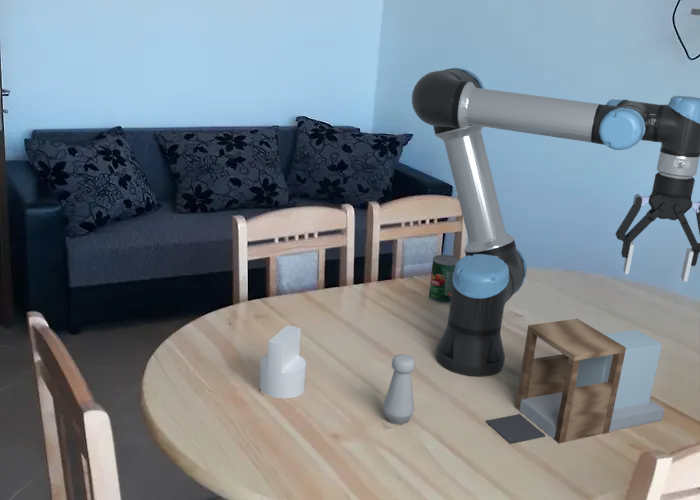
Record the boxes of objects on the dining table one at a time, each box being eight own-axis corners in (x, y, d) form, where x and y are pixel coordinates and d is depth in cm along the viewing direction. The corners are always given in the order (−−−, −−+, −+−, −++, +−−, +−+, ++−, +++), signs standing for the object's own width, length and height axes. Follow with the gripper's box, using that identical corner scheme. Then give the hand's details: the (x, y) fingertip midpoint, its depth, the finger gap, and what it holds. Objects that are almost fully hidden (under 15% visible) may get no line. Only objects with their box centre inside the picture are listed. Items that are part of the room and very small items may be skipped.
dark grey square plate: (519, 415, 153) (519, 413, 152) (545, 436, 146) (545, 435, 146) (485, 421, 149) (485, 420, 149) (510, 443, 142) (510, 442, 142)
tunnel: (562, 398, 160) (577, 318, 155) (608, 432, 149) (626, 347, 143) (515, 407, 155) (528, 325, 150) (559, 443, 144) (574, 355, 138)
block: (624, 386, 162) (636, 329, 158) (649, 402, 156) (662, 343, 152) (571, 396, 156) (582, 337, 152) (595, 413, 150) (607, 352, 146)
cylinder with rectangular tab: (293, 404, 150) (296, 348, 146) (251, 393, 153) (253, 338, 149) (311, 384, 158) (315, 331, 155) (271, 374, 161) (274, 321, 157)
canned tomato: (463, 299, 209) (468, 260, 206) (447, 306, 204) (451, 266, 200) (439, 290, 214) (444, 252, 211) (422, 297, 209) (427, 258, 205)
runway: (615, 389, 166) (618, 379, 165) (662, 420, 155) (664, 409, 154) (516, 408, 155) (518, 397, 154) (558, 442, 144) (560, 430, 143)
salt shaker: (390, 429, 144) (396, 366, 140) (377, 413, 149) (383, 352, 145) (418, 424, 147) (425, 362, 142) (404, 409, 152) (410, 349, 147)
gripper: (617, 171, 156) (599, 274, 163) (742, 185, 152) (717, 289, 159) (613, 164, 163) (595, 263, 170) (732, 176, 159) (709, 277, 166)
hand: (654, 275), depth 164 cm, fingers open, 11 cm apart
